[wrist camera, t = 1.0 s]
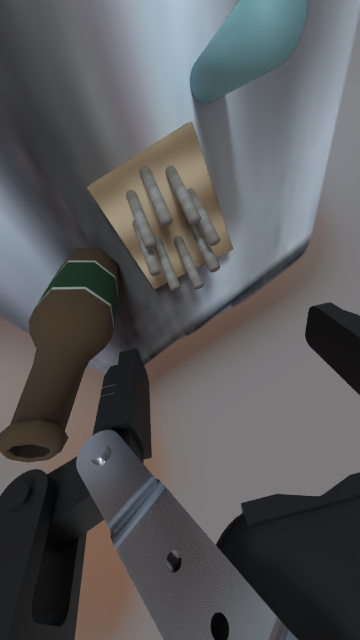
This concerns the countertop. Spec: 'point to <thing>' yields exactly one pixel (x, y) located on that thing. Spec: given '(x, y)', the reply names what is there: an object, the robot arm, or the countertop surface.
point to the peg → (248, 46)
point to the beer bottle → (62, 352)
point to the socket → (166, 210)
